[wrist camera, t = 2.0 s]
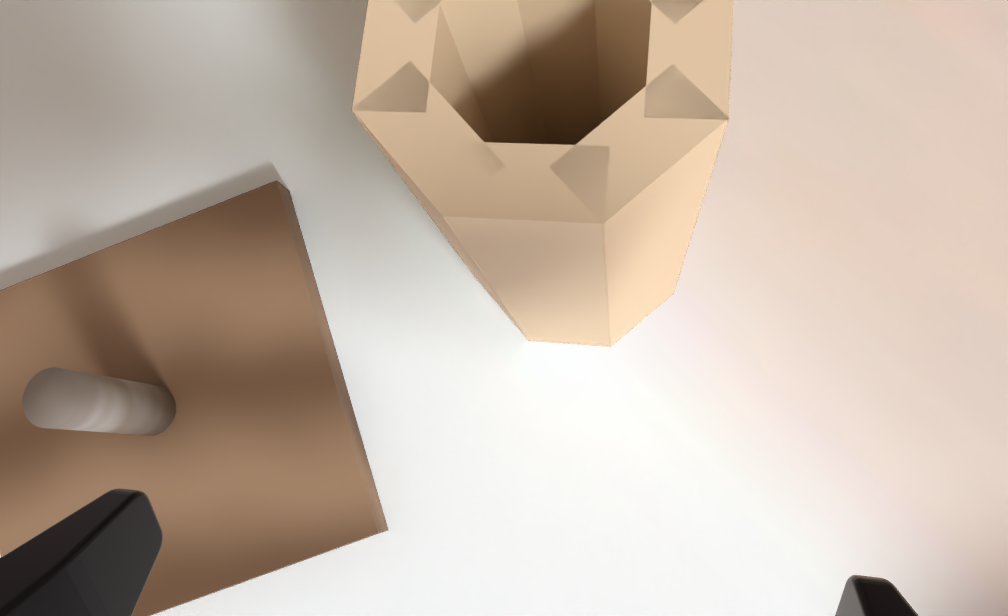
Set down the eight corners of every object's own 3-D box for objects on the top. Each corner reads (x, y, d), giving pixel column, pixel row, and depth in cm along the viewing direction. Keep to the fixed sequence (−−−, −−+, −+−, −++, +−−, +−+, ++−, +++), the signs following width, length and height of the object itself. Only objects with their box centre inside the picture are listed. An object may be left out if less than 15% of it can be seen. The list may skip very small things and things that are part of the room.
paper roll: (670, 351, 23) (724, 230, 11) (472, 336, 24) (335, 211, 12) (680, 162, 24) (739, -123, 12) (492, 155, 25) (385, -114, 14)
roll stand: (388, 529, 23) (319, 548, 18) (41, 654, 24) (-124, 708, 18) (289, 191, 26) (204, 119, 21) (-16, 312, 27) (-172, 273, 21)
